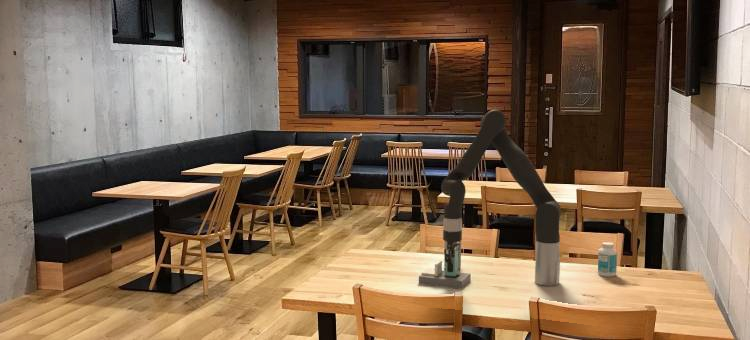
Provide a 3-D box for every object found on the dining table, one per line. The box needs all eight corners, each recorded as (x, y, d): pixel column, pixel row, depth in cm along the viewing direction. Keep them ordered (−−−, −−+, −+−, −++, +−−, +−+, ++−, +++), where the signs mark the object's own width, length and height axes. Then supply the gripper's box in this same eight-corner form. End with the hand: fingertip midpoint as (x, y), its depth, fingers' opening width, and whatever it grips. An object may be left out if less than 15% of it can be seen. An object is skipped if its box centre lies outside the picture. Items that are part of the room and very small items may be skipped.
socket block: (470, 280, 302) (470, 273, 302) (461, 288, 291) (462, 281, 291) (428, 276, 309) (428, 269, 309) (418, 283, 299) (418, 276, 298)
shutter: (442, 272, 304) (442, 260, 303) (436, 276, 298) (436, 264, 297) (427, 270, 307) (427, 259, 306) (421, 274, 300) (421, 263, 300)
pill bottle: (614, 272, 314) (615, 241, 313) (618, 277, 307) (619, 245, 305) (595, 272, 315) (597, 241, 313) (599, 277, 308) (600, 245, 306)
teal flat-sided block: (457, 273, 300) (458, 249, 299) (454, 276, 296) (455, 251, 295) (448, 272, 302) (448, 248, 300) (445, 275, 298) (445, 250, 297)
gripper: (449, 224, 304) (448, 265, 307) (437, 231, 292) (437, 274, 294) (466, 226, 301) (465, 267, 304) (456, 233, 289) (455, 276, 291)
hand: (451, 270), depth 299 cm, fingers closed on teal flat-sided block, 4 cm apart
